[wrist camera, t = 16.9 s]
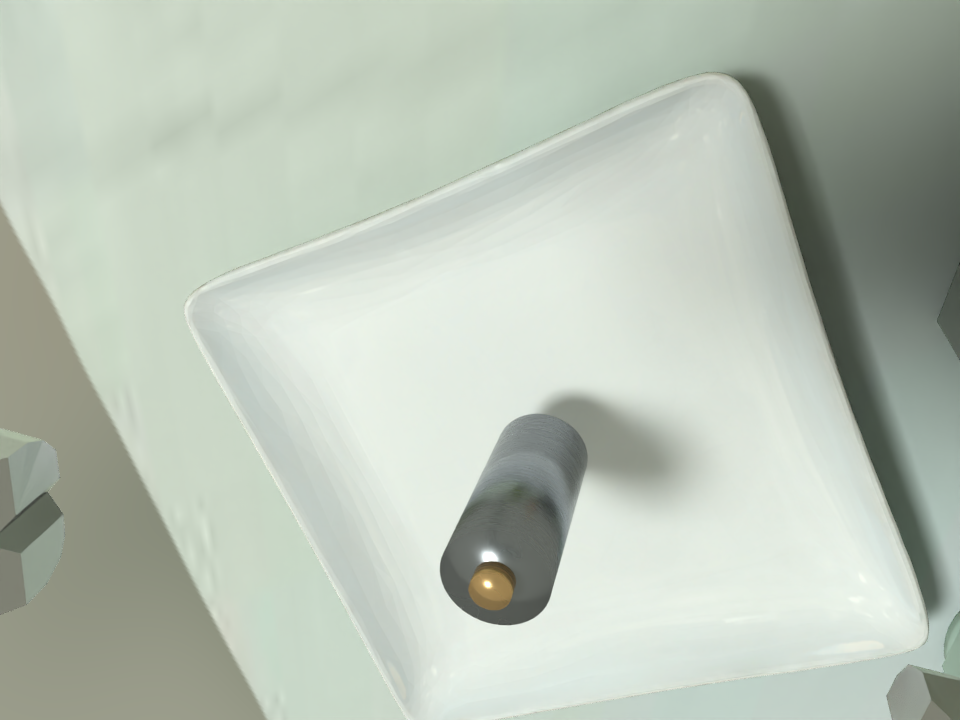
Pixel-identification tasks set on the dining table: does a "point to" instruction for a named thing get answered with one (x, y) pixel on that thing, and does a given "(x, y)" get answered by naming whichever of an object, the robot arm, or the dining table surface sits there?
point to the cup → (952, 648)
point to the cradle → (952, 314)
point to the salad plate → (576, 416)
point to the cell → (516, 522)
